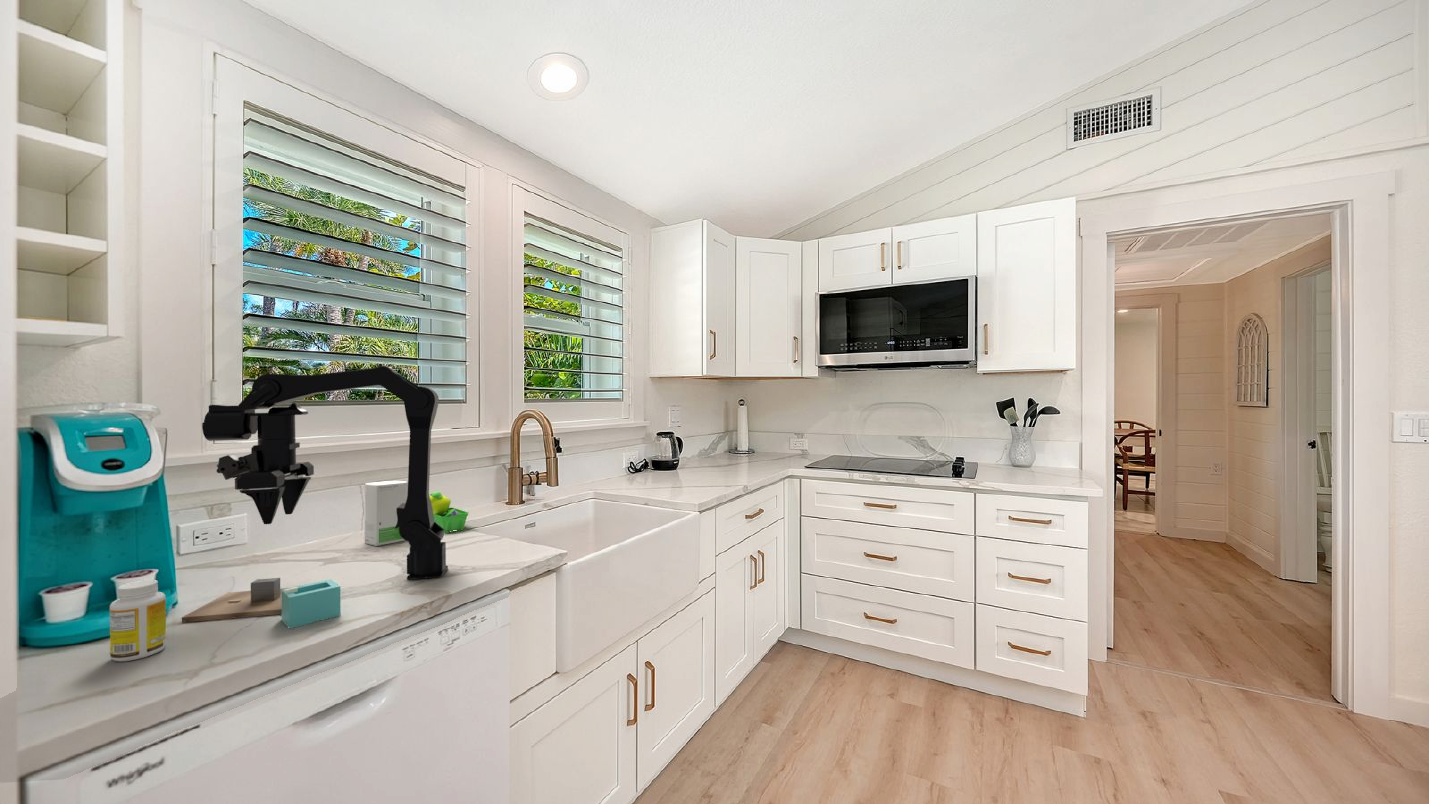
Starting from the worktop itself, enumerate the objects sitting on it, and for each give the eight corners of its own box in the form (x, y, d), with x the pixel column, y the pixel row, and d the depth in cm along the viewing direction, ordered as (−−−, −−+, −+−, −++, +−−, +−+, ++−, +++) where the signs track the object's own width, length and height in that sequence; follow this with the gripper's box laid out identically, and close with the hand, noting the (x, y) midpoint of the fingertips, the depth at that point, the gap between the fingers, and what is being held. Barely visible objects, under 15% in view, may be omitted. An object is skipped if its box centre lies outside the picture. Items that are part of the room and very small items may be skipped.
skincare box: (375, 547, 135) (375, 485, 135) (362, 543, 139) (362, 483, 139) (409, 539, 142) (409, 481, 142) (396, 536, 146) (396, 479, 146)
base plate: (337, 588, 105) (337, 582, 105) (306, 611, 94) (306, 605, 94) (228, 596, 101) (228, 590, 101) (181, 622, 89) (181, 615, 89)
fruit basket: (470, 530, 153) (469, 490, 153) (437, 536, 146) (437, 494, 146) (453, 524, 160) (452, 486, 160) (421, 529, 154) (421, 490, 154)
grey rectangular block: (280, 596, 99) (280, 577, 99) (274, 600, 97) (274, 581, 97) (257, 598, 98) (257, 579, 98) (250, 602, 96) (250, 582, 96)
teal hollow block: (331, 607, 96) (331, 575, 96) (340, 615, 92) (340, 582, 92) (281, 619, 90) (281, 586, 90) (289, 628, 87) (289, 594, 87)
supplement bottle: (164, 642, 82) (163, 575, 82) (168, 653, 78) (167, 583, 78) (109, 655, 78) (108, 584, 78) (110, 667, 74) (110, 593, 74)
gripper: (249, 437, 110) (251, 512, 110) (196, 444, 93) (198, 534, 93) (313, 435, 114) (315, 508, 114) (274, 441, 96) (276, 528, 97)
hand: (278, 518), depth 104 cm, fingers open, 9 cm apart
